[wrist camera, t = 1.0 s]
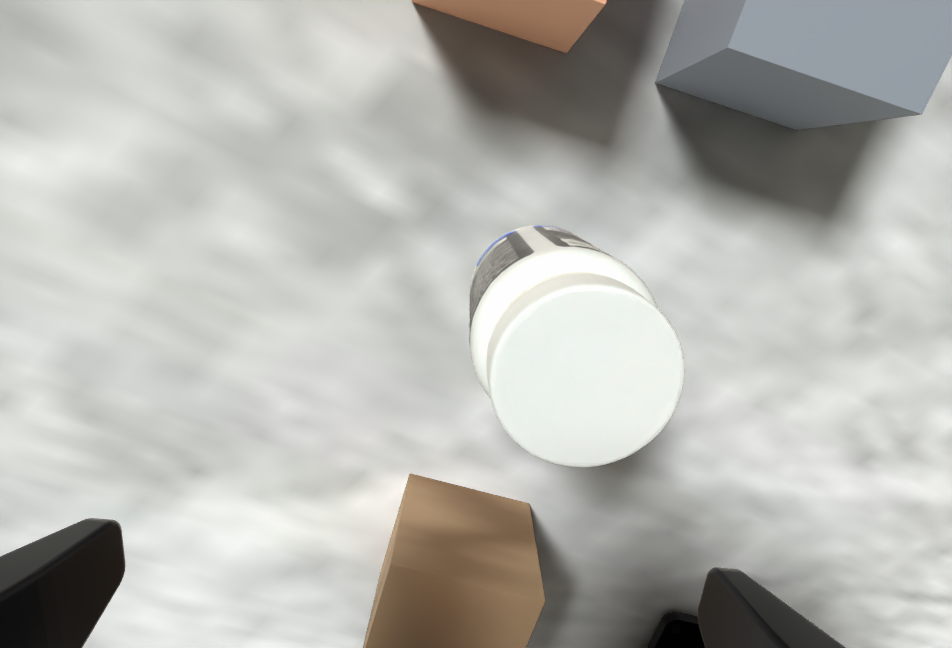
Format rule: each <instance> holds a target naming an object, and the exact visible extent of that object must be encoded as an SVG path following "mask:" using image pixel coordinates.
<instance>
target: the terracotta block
mask: <svg viewBox="0 0 952 648" xmlns="http://www.w3.org/2000/svg"><path fill="white" fill-rule="evenodd" d="M606 1H607V0H412V2H413V3H416V4H419V5H422V6H425V7H428V8H431V9H434V10H437V11H440V12H443V13H446V14H449V15H452V16H455V17H458V18H461V19H464V20H467V21H470V22H473V23H476V24H479V25H482V26H485V27H488V28H491V29H494V30H497V31H500V32H503V33H506V34H509V35H512V36H515V37H518V38H521V39H524V40H527V41H530V42H533V43H536V44H539V45H542V46H545V47H548V48H551V49H554V50H557V51H560V52H563V53H567V52H568V51H569V50H570V48H571V47H572V46H573V45H574V43H575V42H576V41H577V40H578V38H579V37H580V36H581V35H582V33H583V32H584V31H585V30H586V28H587V27H588V26H589V24H590V23H591V22H592V21H593V19H594V18H595V17H596V16H597V14H598V13H599V12H600V11H601V9H602V8H603V7H604V6H605V4H606Z"/></svg>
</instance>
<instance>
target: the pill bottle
mask: <svg viewBox="0 0 952 648" xmlns="http://www.w3.org/2000/svg"><path fill="white" fill-rule="evenodd" d="M470 353H471V358H472V363H473V367H474V370H475V373H476V375H477V377H478V380H479V382H480V384H481V385H482V387H483V389H484V390H485V392H486V393H487V395H488V396H489V397H490V399H491V401H492V405H493V408H494V411H495V413H496V415H497V417H498V419H499V421H500V423H501V425H502V426H503V428H504V429H505V431H506V432H507V433H508V435H509V436H510V437H511V438H512V439H513V440H514V441H515V442H516V443H517V444H518V445H519V446H521V447H522V448H523V449H525V450H526V451H527V452H529V453H530V454H532V455H534V456H536V457H538V458H540V459H542V460H545V461H547V462H550V463H553V464H558V465H562V466H570V467H594V466H602V465H606V464H609V463H612V462H615V461H618V460H621V459H623V458H626V457H628V456H630V455H632V454H633V453H635V452H637V451H638V450H640V449H641V448H642V447H644V446H645V445H646V444H648V443H649V442H650V441H652V440H653V439H654V438H655V437H656V436H657V435H658V434H659V433H660V432H661V431H662V430H663V428H664V427H665V426H666V424H667V423H668V422H669V420H670V419H671V417H672V415H673V413H674V411H675V409H676V407H677V404H678V401H679V399H680V396H681V393H682V389H683V383H684V373H685V367H684V357H683V352H682V348H681V345H680V342H679V339H678V337H677V335H676V332H675V330H674V328H673V326H672V325H671V324H670V322H669V321H668V319H667V318H666V317H665V316H664V315H663V313H662V312H661V311H660V310H659V309H658V307H657V305H656V302H655V300H654V298H653V296H652V294H651V292H650V290H649V289H648V287H647V286H646V284H645V283H644V281H643V280H642V279H641V278H640V277H639V276H638V275H637V274H636V273H635V272H634V271H633V270H632V269H631V268H630V267H628V266H627V265H625V264H624V263H622V262H621V261H619V260H618V259H616V258H614V257H612V256H610V255H609V254H607V253H605V252H603V251H602V250H600V249H598V248H596V247H594V246H593V245H591V244H590V243H588V242H586V241H584V240H582V239H581V238H579V237H578V236H576V235H574V234H572V233H570V232H568V231H566V230H563V229H561V228H557V227H553V226H546V225H533V226H526V227H522V228H518V229H515V230H513V231H510V232H508V233H506V234H504V235H502V236H501V237H499V238H498V239H497V240H495V241H494V242H493V243H492V244H491V245H490V246H489V247H488V248H487V249H486V250H485V252H484V253H483V254H482V256H481V257H480V259H479V261H478V262H477V265H476V267H475V269H474V272H473V275H472V279H471V285H470Z"/></svg>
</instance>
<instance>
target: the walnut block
mask: <svg viewBox="0 0 952 648" xmlns="http://www.w3.org/2000/svg"><path fill="white" fill-rule="evenodd" d="M544 603H545V596H544V590H543V584H542V578H541V572H540V566H539V560H538V553H537V547H536V541H535V535H534V529H533V523H532V517H531V511H530V505H529V503H525V502H521V501H517V500H513V499H509V498H505V497H501V496H497V495H493V494H489V493H485V492H481V491H477V490H473V489H469V488H466V487H462V486H458V485H454V484H450V483H446V482H442V481H438V480H434V479H430V478H426V477H422V476H418V475H414V474H409V478H408V481H407V484H406V488H405V491H404V494H403V498H402V501H401V505H400V508H399V511H398V515H397V518H396V522H395V525H394V528H393V532H392V535H391V538H390V542H389V545H388V549H387V552H386V555H385V559H384V562H383V566H382V569H381V572H380V576H379V581H378V585H377V589H376V594H375V598H374V602H373V607H372V611H371V615H370V619H369V624H368V628H367V632H366V637H365V641H364V645H363V648H526V647H527V644H528V642H529V639H530V637H531V635H532V632H533V630H534V627H535V625H536V622H537V620H538V618H539V615H540V613H541V610H542V608H543V606H544Z"/></svg>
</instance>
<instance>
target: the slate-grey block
mask: <svg viewBox="0 0 952 648" xmlns="http://www.w3.org/2000/svg"><path fill="white" fill-rule="evenodd" d="M951 56H952V0H685V1H684V4H683V6H682V9H681V12H680V15H679V18H678V20H677V23H676V26H675V29H674V31H673V34H672V37H671V40H670V43H669V45H668V48H667V51H666V54H665V56H664V59H663V62H662V65H661V67H660V70H659V73H658V76H657V79H656V81H655V83H657V84H660V85H662V86H665V87H668V88H671V89H674V90H677V91H680V92H683V93H686V94H689V95H692V96H695V97H698V98H701V99H704V100H707V101H710V102H713V103H716V104H719V105H722V106H725V107H728V108H731V109H734V110H737V111H740V112H743V113H746V114H749V115H752V116H755V117H758V118H761V119H764V120H767V121H770V122H773V123H776V124H779V125H782V126H785V127H788V128H791V129H794V130H803V129H811V128H819V127H826V126H834V125H842V124H850V123H858V122H866V121H874V120H882V119H889V118H897V117H905V116H913V115H921V114H922V113H923V111H924V109H925V107H926V105H927V103H928V101H929V99H930V97H931V95H932V93H933V91H934V90H935V88H936V86H937V84H938V82H939V80H940V78H941V76H942V74H943V72H944V70H945V68H946V66H947V64H948V62H949V60H950V58H951Z"/></svg>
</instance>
